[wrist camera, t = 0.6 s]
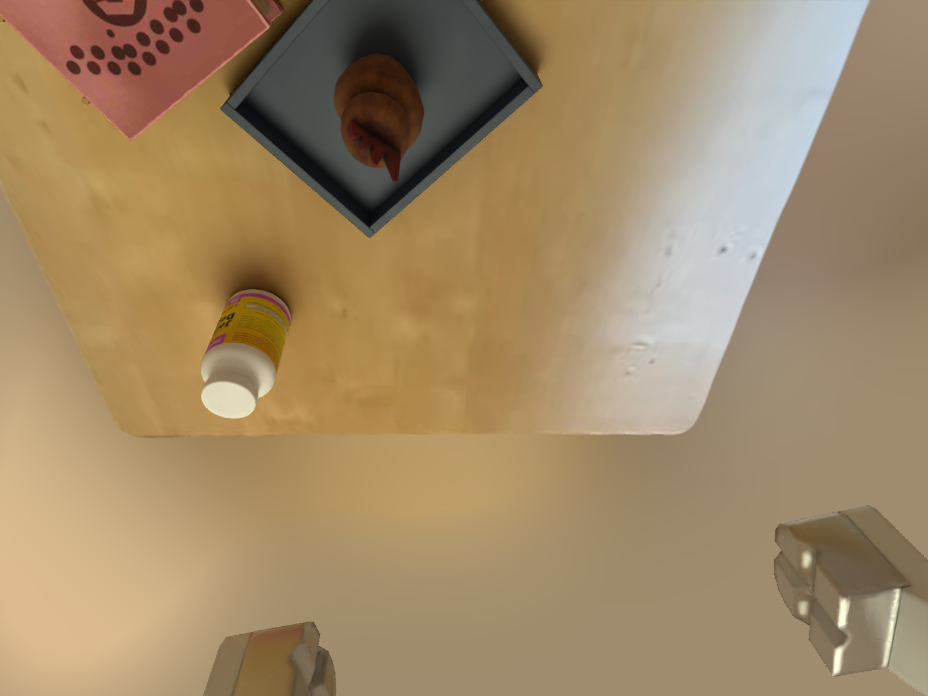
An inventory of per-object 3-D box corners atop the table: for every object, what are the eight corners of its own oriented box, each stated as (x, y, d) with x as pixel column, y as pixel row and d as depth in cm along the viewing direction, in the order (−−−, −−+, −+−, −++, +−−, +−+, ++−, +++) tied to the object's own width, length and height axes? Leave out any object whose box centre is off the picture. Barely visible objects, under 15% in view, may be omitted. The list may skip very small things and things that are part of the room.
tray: (399, -105, 41) (398, -101, 39) (537, 74, 49) (542, 86, 47) (229, 96, 49) (219, 109, 47) (371, 222, 57) (369, 238, 55)
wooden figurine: (436, 104, 50) (439, 184, 38) (379, 141, 52) (366, 228, 40) (387, 27, 46) (374, 90, 34) (327, 70, 48) (296, 144, 36)
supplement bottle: (240, 275, 60) (204, 361, 50) (302, 304, 63) (279, 391, 53) (217, 320, 64) (178, 409, 54) (277, 346, 66) (250, 435, 56)
